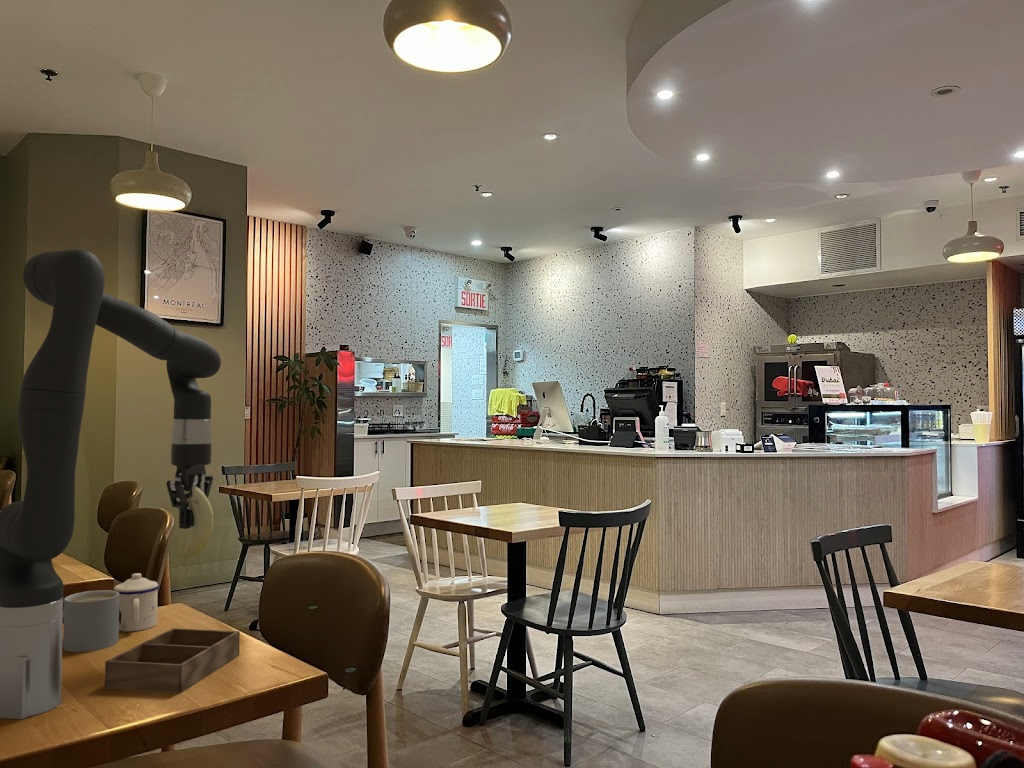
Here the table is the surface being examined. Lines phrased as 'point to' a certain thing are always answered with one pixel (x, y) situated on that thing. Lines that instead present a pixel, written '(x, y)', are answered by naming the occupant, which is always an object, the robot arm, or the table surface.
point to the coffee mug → (91, 621)
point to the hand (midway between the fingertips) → (189, 526)
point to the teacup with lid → (137, 603)
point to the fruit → (199, 523)
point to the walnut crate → (172, 660)
